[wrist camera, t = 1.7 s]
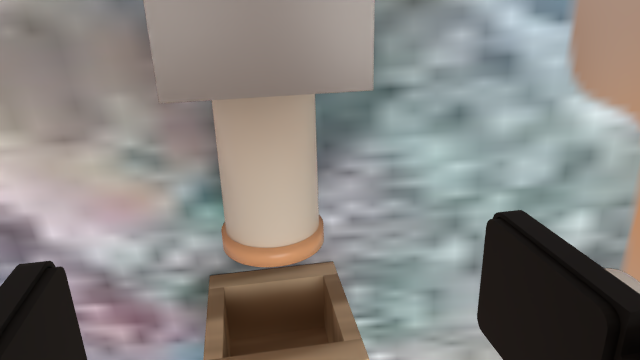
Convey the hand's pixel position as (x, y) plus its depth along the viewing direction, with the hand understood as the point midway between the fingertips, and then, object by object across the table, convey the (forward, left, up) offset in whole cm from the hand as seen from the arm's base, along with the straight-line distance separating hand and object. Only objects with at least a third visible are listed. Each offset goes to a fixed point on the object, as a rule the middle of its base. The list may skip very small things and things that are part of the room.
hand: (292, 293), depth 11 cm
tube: (-3, 0, -13) cm, 13 cm away
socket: (+11, 0, -15) cm, 19 cm away
